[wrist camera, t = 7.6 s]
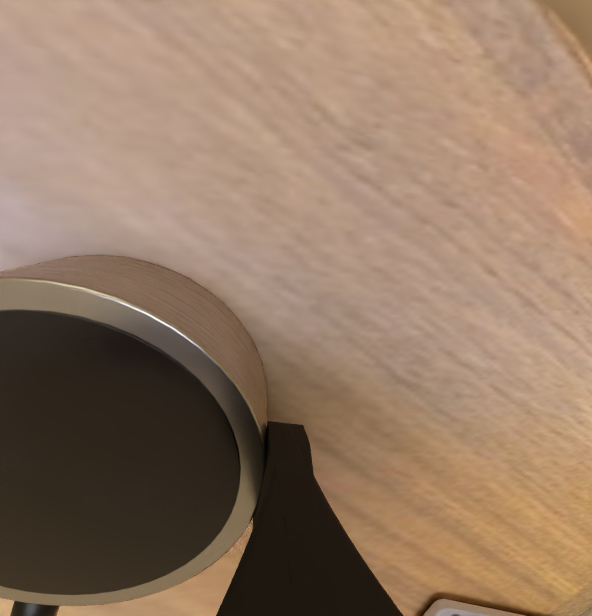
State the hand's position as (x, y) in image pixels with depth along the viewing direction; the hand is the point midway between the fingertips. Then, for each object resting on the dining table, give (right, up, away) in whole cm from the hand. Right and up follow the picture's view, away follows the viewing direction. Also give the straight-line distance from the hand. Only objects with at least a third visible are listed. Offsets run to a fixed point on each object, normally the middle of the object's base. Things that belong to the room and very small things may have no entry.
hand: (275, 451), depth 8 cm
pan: (-6, -1, +2) cm, 6 cm away
